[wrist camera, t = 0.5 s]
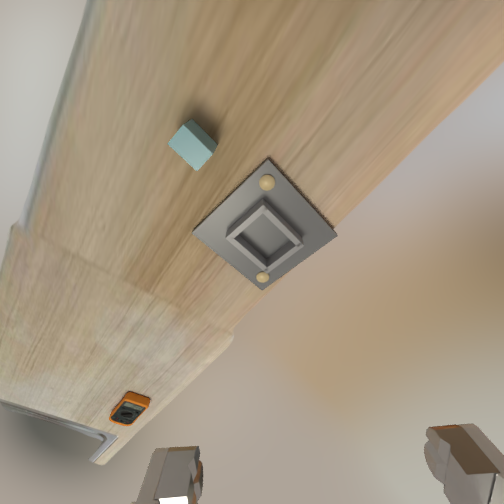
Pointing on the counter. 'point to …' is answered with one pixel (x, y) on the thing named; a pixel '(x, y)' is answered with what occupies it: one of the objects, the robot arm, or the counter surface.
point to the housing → (264, 227)
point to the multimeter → (129, 409)
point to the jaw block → (193, 144)
